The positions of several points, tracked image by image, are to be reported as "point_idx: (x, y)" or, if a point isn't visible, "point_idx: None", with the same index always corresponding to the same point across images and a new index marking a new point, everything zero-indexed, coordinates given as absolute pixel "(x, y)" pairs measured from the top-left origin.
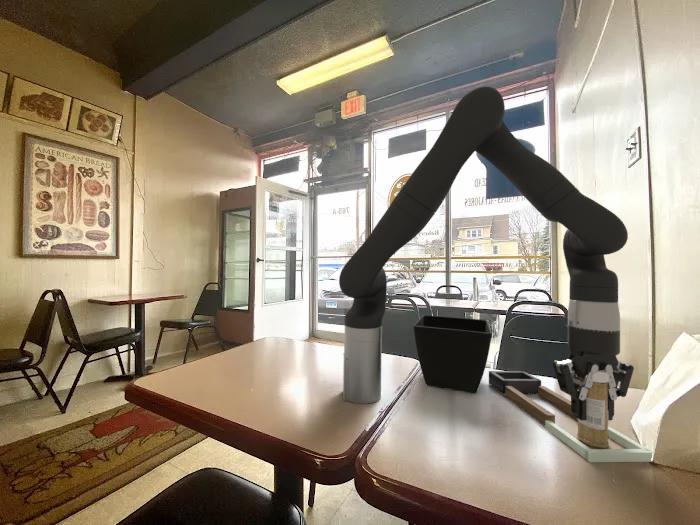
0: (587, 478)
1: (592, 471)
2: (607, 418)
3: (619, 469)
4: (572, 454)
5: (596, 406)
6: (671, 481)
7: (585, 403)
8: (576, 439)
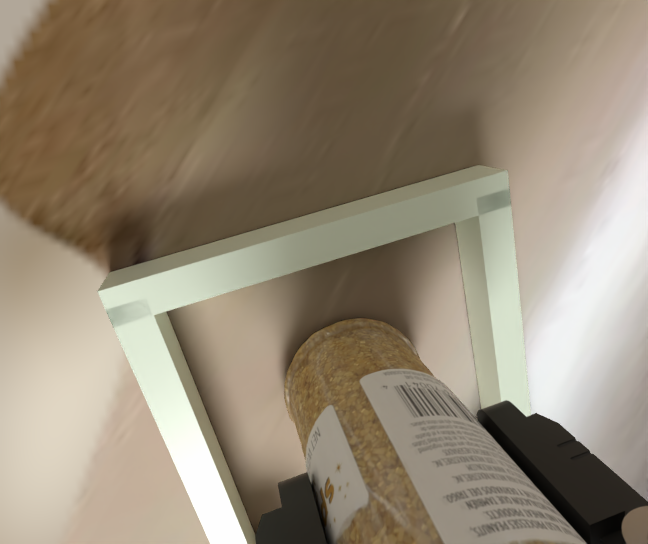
0: (579, 3)
1: (516, 78)
2: (350, 447)
3: (364, 134)
4: (520, 220)
5: (500, 483)
6: (132, 76)
7: (575, 499)
8: (494, 304)
